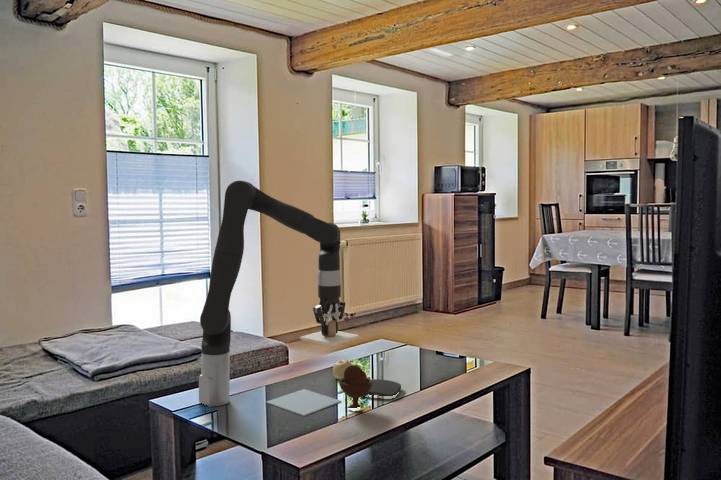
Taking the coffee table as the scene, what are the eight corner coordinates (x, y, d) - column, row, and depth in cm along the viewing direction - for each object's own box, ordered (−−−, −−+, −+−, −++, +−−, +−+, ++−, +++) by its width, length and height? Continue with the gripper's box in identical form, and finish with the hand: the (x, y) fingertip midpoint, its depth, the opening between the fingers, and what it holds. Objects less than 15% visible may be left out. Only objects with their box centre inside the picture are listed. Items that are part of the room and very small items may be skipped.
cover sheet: (331, 345, 192) (331, 327, 192) (299, 339, 201) (299, 321, 201) (359, 337, 203) (359, 320, 203) (328, 331, 212) (328, 315, 212)
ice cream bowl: (372, 415, 196) (373, 369, 194) (337, 414, 196) (338, 369, 195) (372, 404, 206) (373, 360, 205) (339, 403, 206) (340, 359, 205)
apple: (358, 378, 234) (354, 363, 229) (340, 388, 231) (336, 374, 227) (349, 366, 240) (345, 352, 236) (331, 376, 237) (327, 362, 233)
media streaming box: (402, 388, 224) (403, 380, 224) (394, 401, 210) (394, 393, 210) (364, 384, 228) (364, 377, 227) (353, 397, 214) (354, 389, 213)
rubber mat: (303, 416, 194) (303, 415, 194) (266, 402, 205) (266, 401, 205) (341, 402, 208) (341, 400, 208) (304, 390, 219) (304, 389, 219)
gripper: (323, 287, 193) (323, 340, 194) (351, 281, 204) (352, 332, 205) (306, 285, 198) (306, 336, 199) (335, 279, 209) (335, 329, 210)
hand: (329, 334), depth 202 cm, fingers closed on cover sheet, 4 cm apart
